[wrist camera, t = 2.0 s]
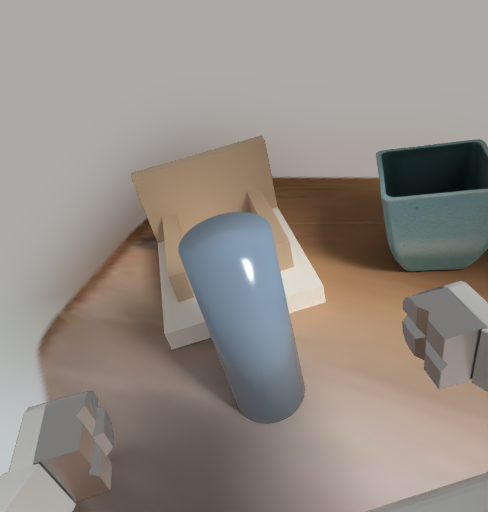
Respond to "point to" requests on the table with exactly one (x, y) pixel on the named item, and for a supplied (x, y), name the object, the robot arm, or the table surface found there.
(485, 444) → the table surface
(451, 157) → the flower pot
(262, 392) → the light blue cylinder
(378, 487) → the table surface
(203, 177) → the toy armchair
